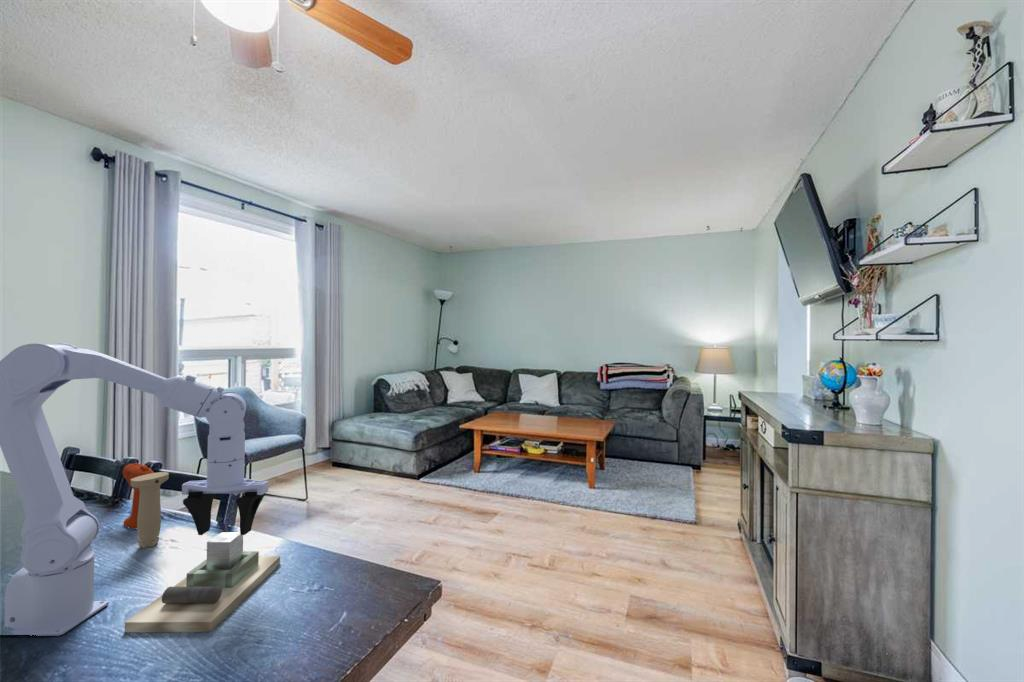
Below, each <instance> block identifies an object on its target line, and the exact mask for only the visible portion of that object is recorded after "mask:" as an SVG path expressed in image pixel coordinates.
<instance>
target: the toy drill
mask: <svg viewBox="0 0 1024 682" xmlns="http://www.w3.org/2000/svg"><path fill="white" fill-rule="evenodd" d="M114 463H115V464H116V465H118V466H119V470H120V471H121V472H122V475H123V478H124V479H125V480H126V482H127V483H128V484H129V486H130V487H131V489H133V494H132V495H133V496H132V503H131V514H130V516H128V517H126V518H125V519H124V521H123V526H124V525H125V526H126V527H125V526H124V527H125V528H127V527H129V528H128V529H130V528H137V518H138V508H139V497H140V490H139V488H135V487H133V486H131V479H133V478H135V477H138V476H142V475H146V474H151V473H155V472H154V471H153V470H152V469H151V468H150V467H148V465H146V464H141V463H139V462H138V463H137V462H135V463H132V462H129V461H128V462H123V461H121V460H119V459H116V460H115V461H114Z"/></svg>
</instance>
